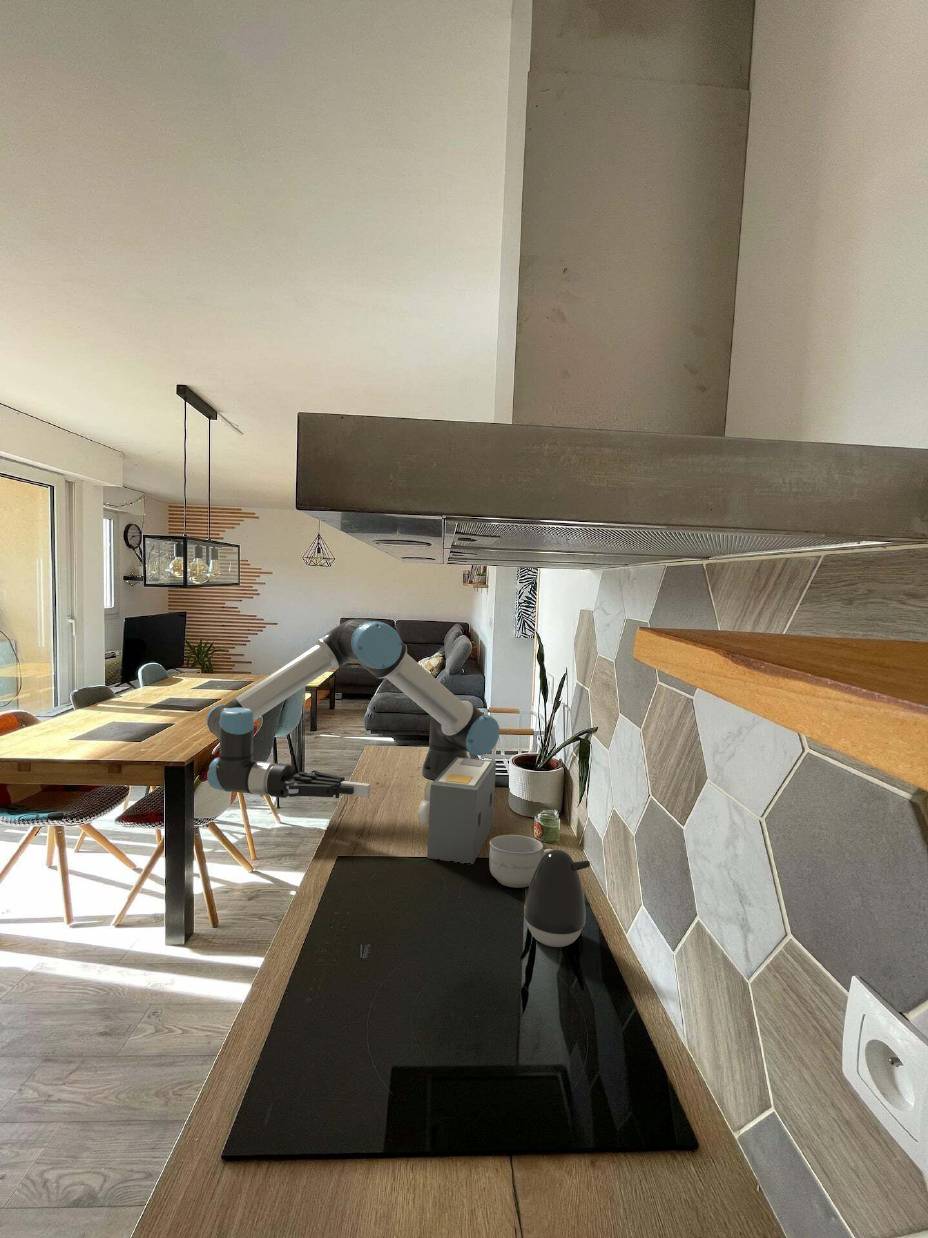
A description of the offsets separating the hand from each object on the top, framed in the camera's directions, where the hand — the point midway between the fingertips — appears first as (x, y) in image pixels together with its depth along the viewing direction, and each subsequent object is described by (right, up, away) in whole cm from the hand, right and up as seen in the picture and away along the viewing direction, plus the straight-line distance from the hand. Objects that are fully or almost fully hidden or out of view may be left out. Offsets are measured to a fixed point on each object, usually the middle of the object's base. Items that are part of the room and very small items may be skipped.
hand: (368, 790), depth 147 cm
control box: (+21, -12, +3) cm, 25 cm away
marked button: (+16, -7, -3) cm, 17 cm away
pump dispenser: (+37, -15, -37) cm, 54 cm away
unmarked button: (+16, -6, +11) cm, 21 cm away
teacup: (+33, -14, -17) cm, 40 cm away
